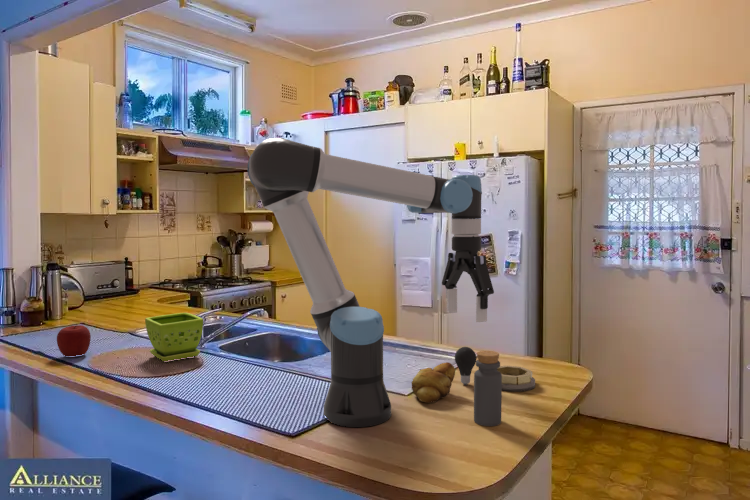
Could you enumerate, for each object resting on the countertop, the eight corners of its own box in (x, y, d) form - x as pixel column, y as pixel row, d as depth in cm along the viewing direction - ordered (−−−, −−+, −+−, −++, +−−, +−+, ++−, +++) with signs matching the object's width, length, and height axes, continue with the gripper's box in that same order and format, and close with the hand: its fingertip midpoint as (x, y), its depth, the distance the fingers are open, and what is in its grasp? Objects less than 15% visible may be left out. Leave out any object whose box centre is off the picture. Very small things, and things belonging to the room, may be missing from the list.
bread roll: (439, 408, 128) (439, 374, 127) (401, 402, 132) (401, 369, 132) (457, 392, 139) (457, 361, 138) (422, 386, 143) (422, 356, 143)
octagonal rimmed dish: (506, 394, 137) (506, 380, 136) (478, 381, 148) (478, 368, 147) (545, 387, 142) (545, 374, 142) (515, 375, 153) (515, 362, 152)
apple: (53, 361, 169) (51, 329, 169) (63, 353, 179) (61, 323, 178) (86, 359, 172) (85, 327, 171) (94, 351, 181) (93, 321, 180)
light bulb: (475, 388, 141) (476, 350, 141) (453, 387, 143) (454, 349, 142) (476, 381, 147) (476, 345, 146) (455, 380, 148) (455, 344, 147)
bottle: (484, 428, 115) (484, 357, 114) (468, 418, 121) (468, 351, 120) (506, 423, 118) (507, 354, 117) (490, 414, 123) (491, 348, 122)
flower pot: (145, 357, 174) (143, 317, 173) (188, 349, 183) (187, 311, 182) (160, 366, 164) (159, 324, 163) (205, 358, 173) (204, 317, 172)
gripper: (508, 237, 132) (508, 324, 134) (452, 233, 155) (452, 308, 156) (482, 237, 129) (482, 327, 131) (429, 234, 152) (429, 310, 153)
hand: (466, 317), depth 144 cm, fingers open, 13 cm apart
